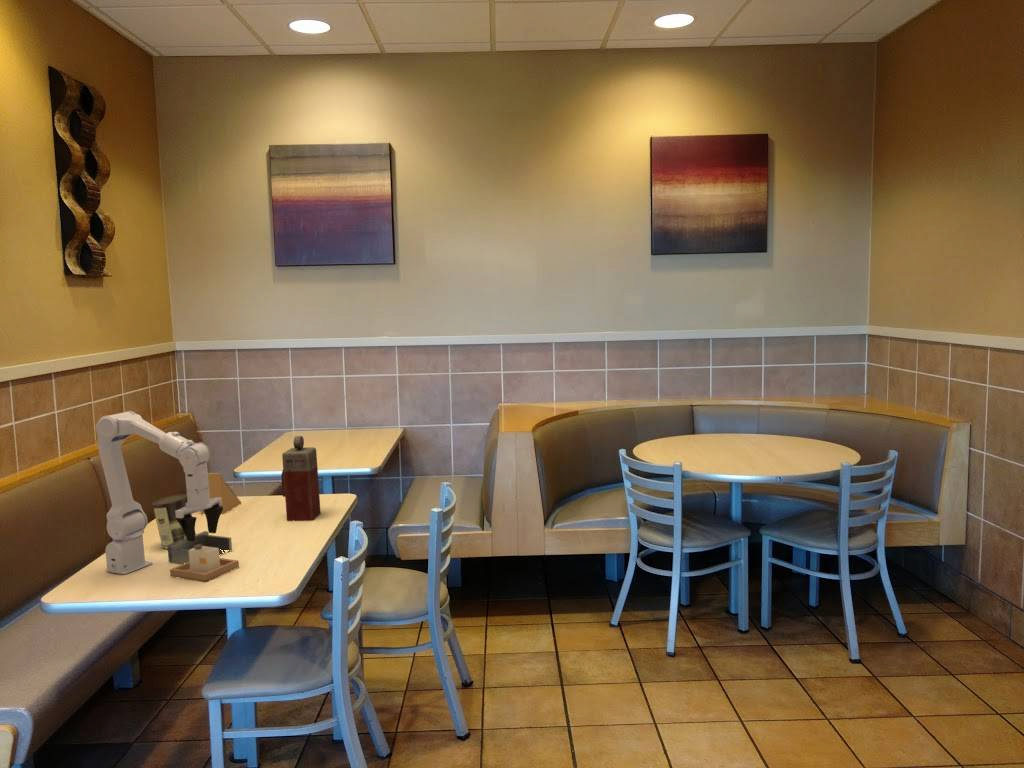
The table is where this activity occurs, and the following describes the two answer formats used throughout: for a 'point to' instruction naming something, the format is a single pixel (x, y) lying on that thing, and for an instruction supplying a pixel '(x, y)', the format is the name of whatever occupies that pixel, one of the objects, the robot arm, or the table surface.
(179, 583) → the table surface
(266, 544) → the table surface
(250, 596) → the table surface
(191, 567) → the block with grey knob
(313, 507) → the red pepper mill
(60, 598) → the table surface
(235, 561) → the tray
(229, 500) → the sandwich container
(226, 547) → the bay
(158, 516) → the coffee can
